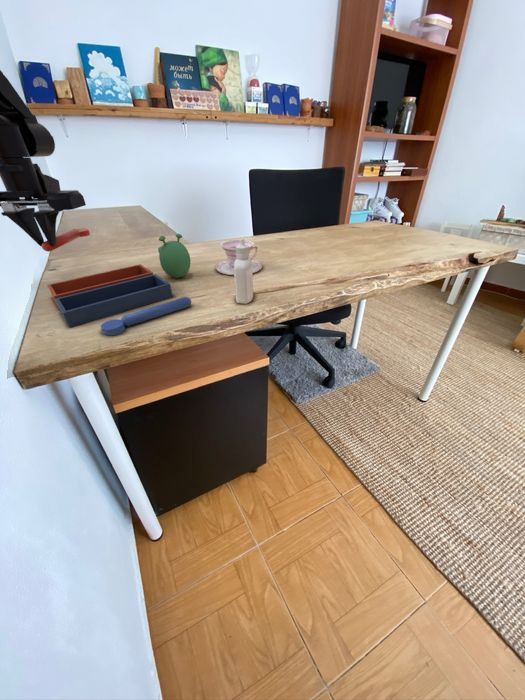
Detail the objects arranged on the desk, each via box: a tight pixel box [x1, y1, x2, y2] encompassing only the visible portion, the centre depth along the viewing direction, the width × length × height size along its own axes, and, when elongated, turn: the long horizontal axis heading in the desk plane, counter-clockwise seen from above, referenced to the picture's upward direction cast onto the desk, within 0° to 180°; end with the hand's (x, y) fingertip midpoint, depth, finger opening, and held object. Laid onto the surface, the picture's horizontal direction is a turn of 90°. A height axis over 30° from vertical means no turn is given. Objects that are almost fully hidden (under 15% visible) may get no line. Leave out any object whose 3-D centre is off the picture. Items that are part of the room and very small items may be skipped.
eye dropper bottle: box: [233, 237, 254, 305], centre depth 58 cm, size 4×6×12 cm
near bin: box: [54, 273, 174, 328], centre depth 59 cm, size 20×8×3 cm, turn 129°
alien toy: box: [157, 233, 191, 279], centre depth 69 cm, size 7×8×10 cm
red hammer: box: [41, 228, 91, 253], centre depth 68 cm, size 17×4×2 cm, turn 0°
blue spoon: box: [100, 296, 192, 336], centre depth 54 cm, size 17×4×2 cm, turn 129°
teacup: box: [215, 239, 263, 276], centre depth 75 cm, size 12×12×6 cm
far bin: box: [46, 263, 154, 309], centre depth 64 cm, size 20×8×3 cm, turn 129°
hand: (48, 245), depth 62 cm, fingers closed on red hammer, 2 cm apart
